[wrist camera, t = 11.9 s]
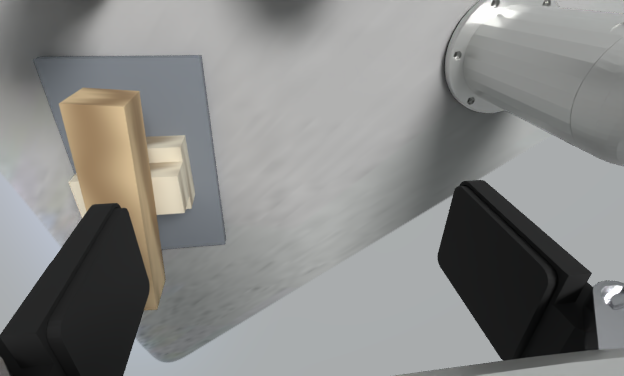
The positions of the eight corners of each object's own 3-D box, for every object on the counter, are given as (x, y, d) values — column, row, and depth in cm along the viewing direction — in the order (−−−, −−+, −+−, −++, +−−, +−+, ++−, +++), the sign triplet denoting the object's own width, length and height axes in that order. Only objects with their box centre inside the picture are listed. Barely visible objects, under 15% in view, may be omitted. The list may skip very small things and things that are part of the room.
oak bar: (139, 90, 28) (123, 106, 24) (165, 279, 37) (157, 309, 34) (82, 87, 27) (58, 103, 23) (124, 280, 37) (111, 311, 33)
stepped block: (184, 135, 36) (174, 161, 31) (195, 193, 40) (187, 225, 34) (89, 138, 35) (62, 166, 30) (109, 199, 38) (87, 232, 33)
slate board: (201, 55, 34) (199, 57, 33) (225, 238, 45) (225, 244, 44) (39, 56, 32) (32, 59, 31) (107, 247, 43) (104, 253, 42)
